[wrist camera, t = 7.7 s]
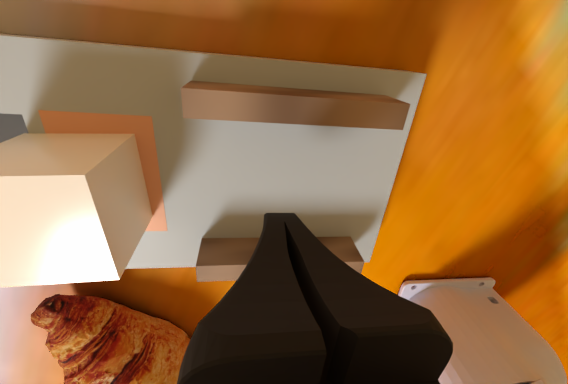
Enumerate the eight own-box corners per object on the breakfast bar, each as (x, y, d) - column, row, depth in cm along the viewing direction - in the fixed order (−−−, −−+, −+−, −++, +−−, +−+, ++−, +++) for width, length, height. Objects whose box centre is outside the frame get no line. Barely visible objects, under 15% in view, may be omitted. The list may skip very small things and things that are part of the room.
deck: (406, 70, 16) (427, 73, 14) (359, 244, 22) (369, 262, 20) (-192, 16, 12) (-268, 11, 10) (-47, 251, 18) (-79, 274, 16)
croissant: (234, 356, 33) (268, 416, 27) (161, 430, 30) (179, 518, 23) (107, 236, 22) (111, 287, 16) (-29, 329, 19) (-94, 441, 13)
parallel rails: (385, 95, 15) (410, 104, 12) (347, 250, 20) (360, 275, 17) (191, 80, 13) (180, 87, 11) (202, 252, 18) (197, 281, 16)
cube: (134, 133, 14) (84, 175, 9) (152, 216, 16) (119, 280, 12) (23, 133, 13) (-85, 177, 9) (59, 219, 16) (-12, 288, 11)
